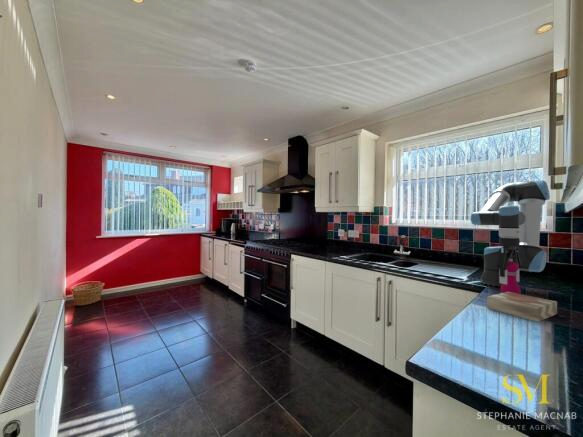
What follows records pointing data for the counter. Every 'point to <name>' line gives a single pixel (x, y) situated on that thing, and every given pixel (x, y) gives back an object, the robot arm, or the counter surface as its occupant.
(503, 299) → the birch stand
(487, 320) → the counter surface
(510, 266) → the pepper mill
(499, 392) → the counter surface
